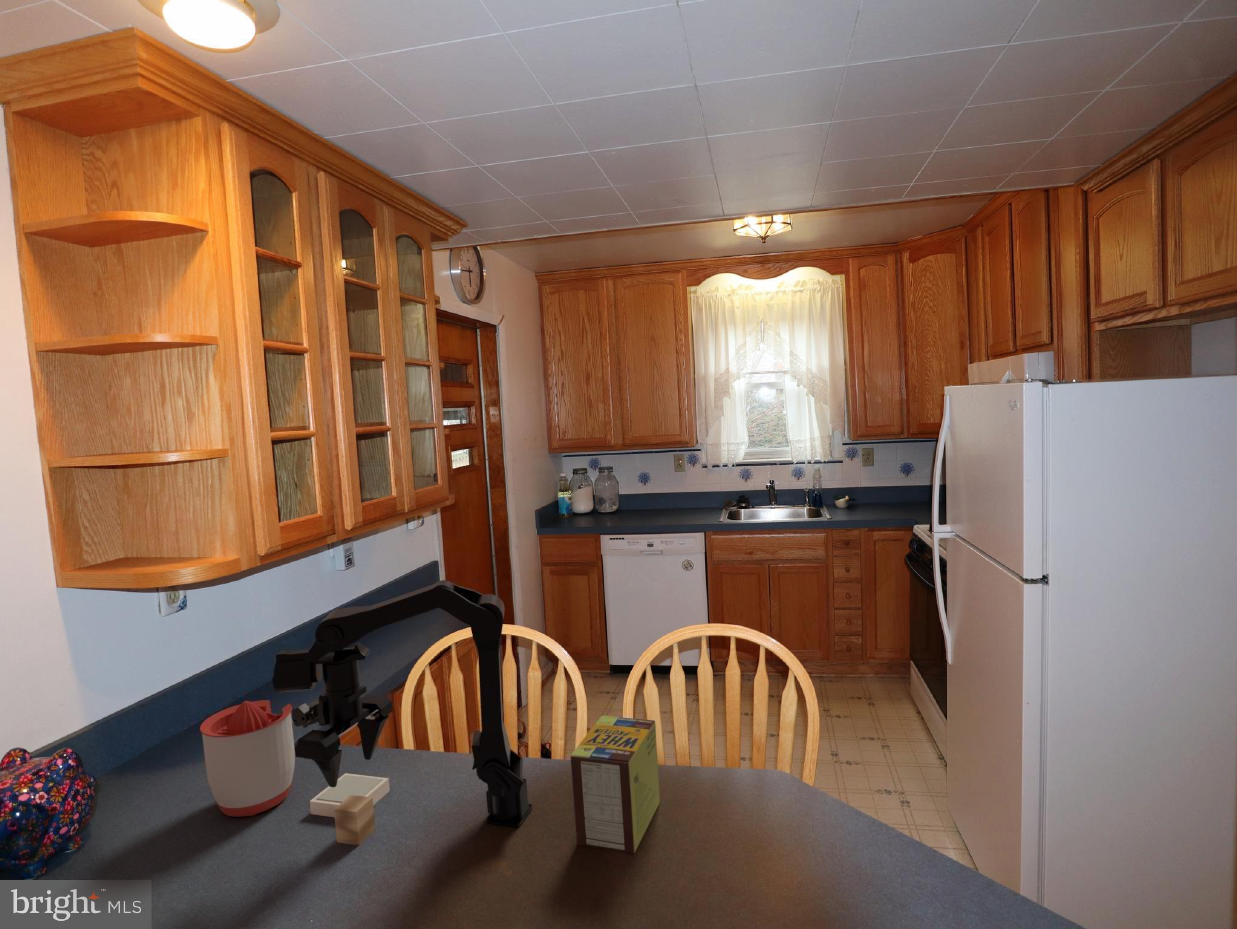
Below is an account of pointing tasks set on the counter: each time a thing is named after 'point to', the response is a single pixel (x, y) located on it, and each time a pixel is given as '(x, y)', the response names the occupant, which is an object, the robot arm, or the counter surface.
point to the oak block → (354, 819)
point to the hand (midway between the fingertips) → (351, 772)
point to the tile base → (348, 792)
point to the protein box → (615, 783)
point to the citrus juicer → (249, 757)
